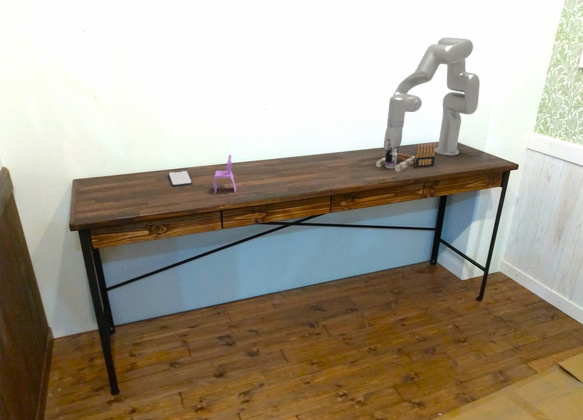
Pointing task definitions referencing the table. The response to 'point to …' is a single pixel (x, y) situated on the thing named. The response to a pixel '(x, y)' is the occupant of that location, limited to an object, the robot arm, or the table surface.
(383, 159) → the guide channel
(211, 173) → the table surface
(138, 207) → the table surface
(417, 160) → the ammunition clip
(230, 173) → the toy chair
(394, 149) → the pill bottle
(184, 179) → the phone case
